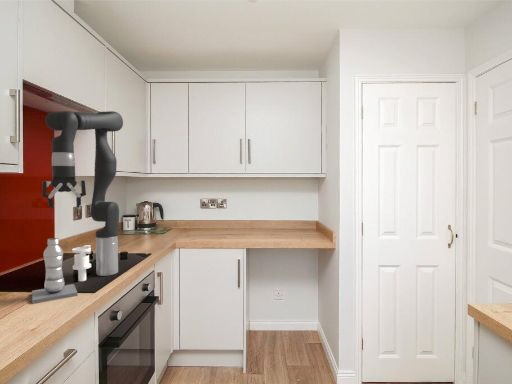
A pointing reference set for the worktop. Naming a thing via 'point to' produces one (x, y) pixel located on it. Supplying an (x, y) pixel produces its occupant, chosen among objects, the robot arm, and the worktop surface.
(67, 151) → the robot arm
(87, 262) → the white cylindrical piece
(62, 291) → the board
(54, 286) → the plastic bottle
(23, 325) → the worktop surface
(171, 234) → the worktop surface
